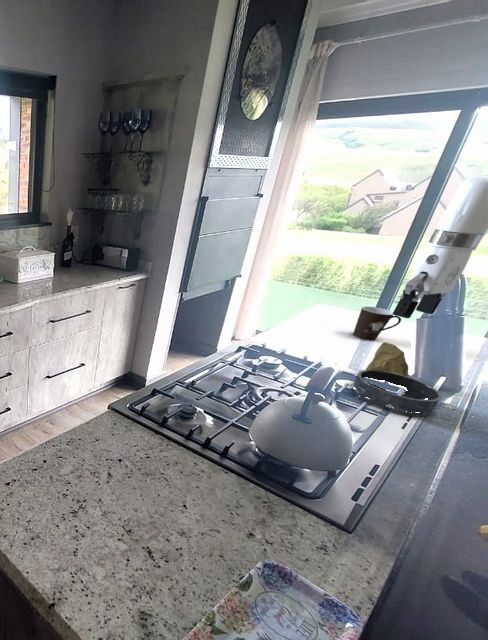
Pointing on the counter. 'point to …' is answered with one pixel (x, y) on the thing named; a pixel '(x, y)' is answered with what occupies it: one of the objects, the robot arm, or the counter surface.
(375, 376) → the dark grey ring
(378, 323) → the coffee mug
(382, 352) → the rock
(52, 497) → the counter surface
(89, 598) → the counter surface
